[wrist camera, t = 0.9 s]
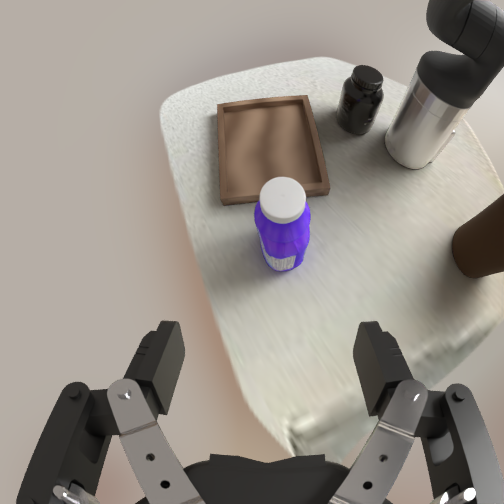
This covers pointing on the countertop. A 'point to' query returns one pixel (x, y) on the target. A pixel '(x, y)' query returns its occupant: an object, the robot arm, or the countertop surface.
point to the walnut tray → (268, 147)
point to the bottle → (283, 223)
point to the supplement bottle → (360, 100)
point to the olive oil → (481, 242)
